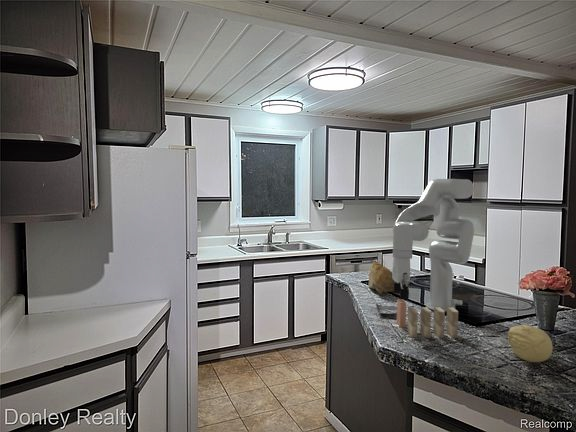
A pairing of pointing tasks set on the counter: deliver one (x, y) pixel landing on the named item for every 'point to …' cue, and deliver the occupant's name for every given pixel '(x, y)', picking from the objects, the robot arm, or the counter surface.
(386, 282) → the rough brown rock
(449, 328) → the domino
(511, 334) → the yellow oval melon
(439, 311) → the domino
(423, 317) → the domino
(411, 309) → the domino
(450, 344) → the counter surface
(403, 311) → the domino
